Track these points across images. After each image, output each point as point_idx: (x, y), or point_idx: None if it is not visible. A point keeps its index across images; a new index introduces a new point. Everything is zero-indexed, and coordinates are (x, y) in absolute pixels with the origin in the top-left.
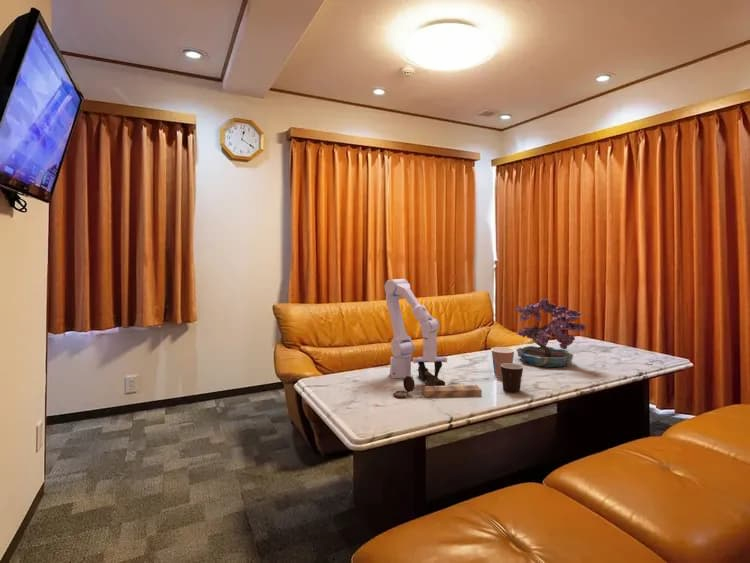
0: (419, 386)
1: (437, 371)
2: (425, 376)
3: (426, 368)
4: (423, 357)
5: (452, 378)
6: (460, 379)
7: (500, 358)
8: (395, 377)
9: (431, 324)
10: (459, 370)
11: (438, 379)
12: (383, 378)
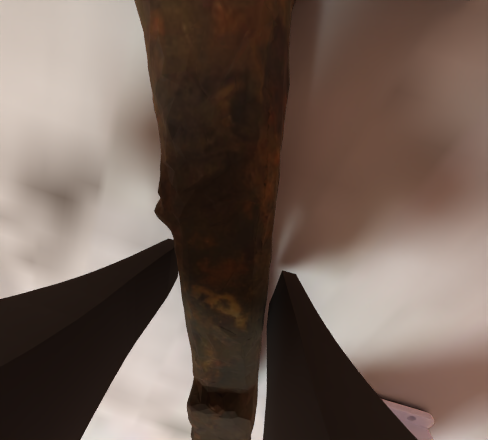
0: (356, 216)
1: (101, 283)
2: (265, 304)
3: (197, 419)
4: None
5: (54, 282)
6: (5, 249)
7: None
8: (411, 411)
9: None
10: None
11: (177, 39)
12: (479, 429)
